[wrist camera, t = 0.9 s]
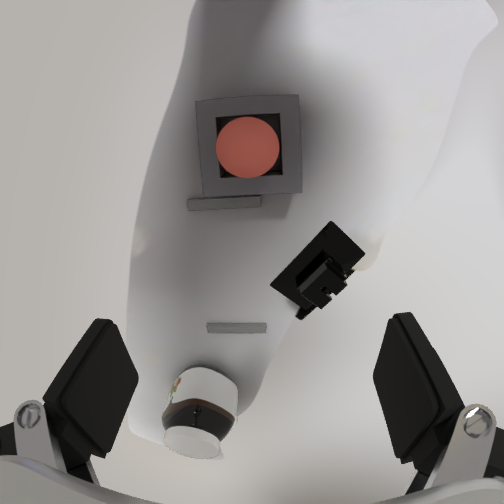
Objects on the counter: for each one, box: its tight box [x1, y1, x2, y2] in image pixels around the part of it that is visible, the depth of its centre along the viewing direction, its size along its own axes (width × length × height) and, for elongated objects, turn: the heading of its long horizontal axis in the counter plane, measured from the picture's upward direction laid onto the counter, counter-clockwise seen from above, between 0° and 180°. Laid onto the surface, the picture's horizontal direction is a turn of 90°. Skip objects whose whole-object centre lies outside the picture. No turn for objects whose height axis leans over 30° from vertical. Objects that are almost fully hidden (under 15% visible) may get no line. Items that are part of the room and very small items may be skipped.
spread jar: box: [162, 365, 238, 459], centre depth 34 cm, size 12×11×12 cm
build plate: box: [270, 221, 365, 320], centre depth 28 cm, size 12×7×5 cm, turn 141°
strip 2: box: [207, 323, 266, 333], centre depth 33 cm, size 1×7×1 cm, turn 93°
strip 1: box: [187, 195, 261, 211], centre depth 27 cm, size 1×7×1 cm, turn 93°
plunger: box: [216, 117, 279, 178], centre depth 21 cm, size 4×4×4 cm
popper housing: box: [195, 95, 302, 197], centre depth 23 cm, size 8×8×4 cm
